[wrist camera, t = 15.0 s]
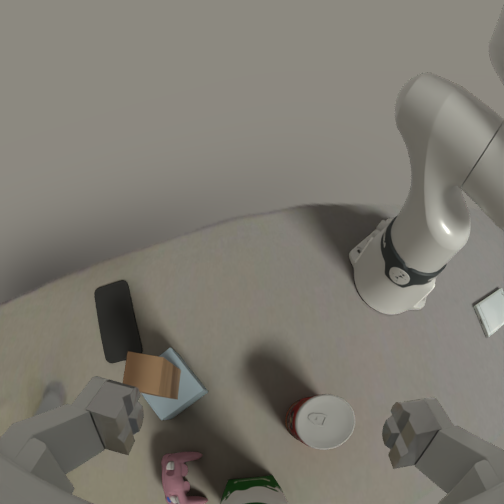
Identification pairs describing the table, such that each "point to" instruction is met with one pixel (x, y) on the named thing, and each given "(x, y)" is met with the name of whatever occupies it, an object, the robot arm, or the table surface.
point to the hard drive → (491, 312)
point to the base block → (187, 391)
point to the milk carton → (253, 491)
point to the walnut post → (152, 375)
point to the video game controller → (178, 478)
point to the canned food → (321, 421)
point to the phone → (117, 321)
